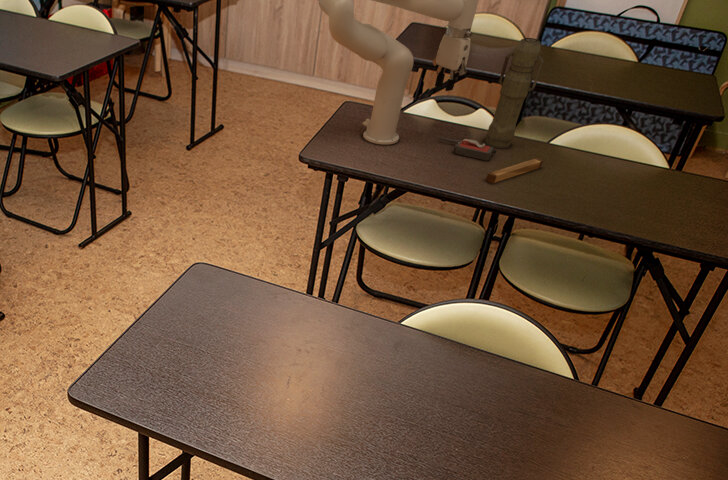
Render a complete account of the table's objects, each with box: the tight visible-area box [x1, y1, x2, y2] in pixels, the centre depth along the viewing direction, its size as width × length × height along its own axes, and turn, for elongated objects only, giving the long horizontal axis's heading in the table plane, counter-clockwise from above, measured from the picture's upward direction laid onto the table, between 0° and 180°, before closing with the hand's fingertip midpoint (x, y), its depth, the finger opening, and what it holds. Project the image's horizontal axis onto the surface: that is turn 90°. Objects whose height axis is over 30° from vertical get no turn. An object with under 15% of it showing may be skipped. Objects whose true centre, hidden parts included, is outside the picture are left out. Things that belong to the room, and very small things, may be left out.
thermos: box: [484, 37, 544, 149], centre depth 234 cm, size 9×12×35 cm
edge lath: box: [485, 157, 544, 184], centre depth 226 cm, size 3×24×3 cm, turn 122°
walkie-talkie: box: [439, 136, 497, 161], centre depth 238 cm, size 9×4×20 cm
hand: (443, 87), depth 239 cm, fingers open, 4 cm apart
